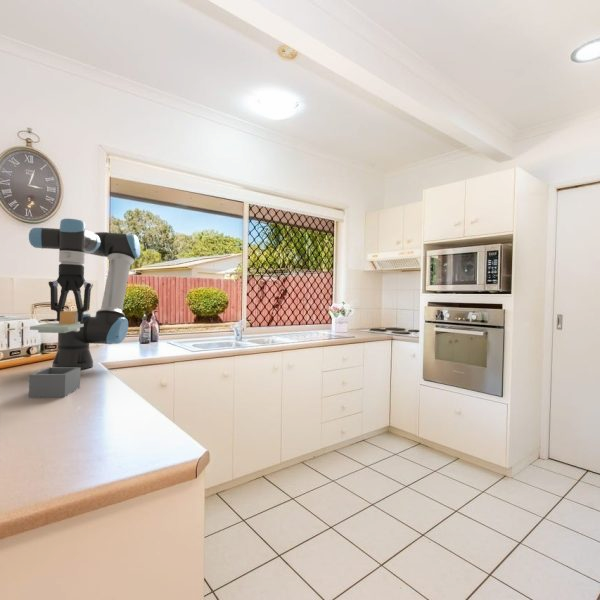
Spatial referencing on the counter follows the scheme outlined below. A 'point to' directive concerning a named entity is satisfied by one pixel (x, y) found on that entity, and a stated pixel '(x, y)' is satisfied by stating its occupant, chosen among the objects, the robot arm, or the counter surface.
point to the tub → (54, 382)
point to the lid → (59, 324)
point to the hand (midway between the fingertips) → (69, 330)
